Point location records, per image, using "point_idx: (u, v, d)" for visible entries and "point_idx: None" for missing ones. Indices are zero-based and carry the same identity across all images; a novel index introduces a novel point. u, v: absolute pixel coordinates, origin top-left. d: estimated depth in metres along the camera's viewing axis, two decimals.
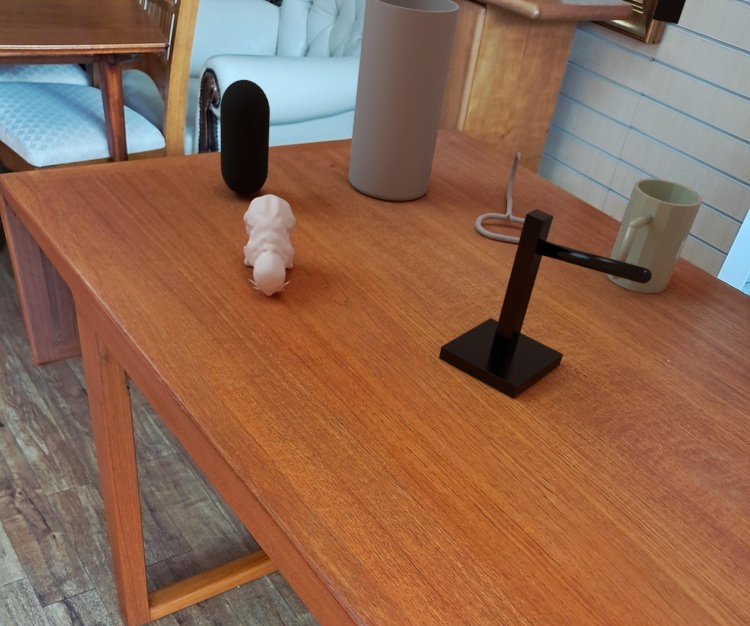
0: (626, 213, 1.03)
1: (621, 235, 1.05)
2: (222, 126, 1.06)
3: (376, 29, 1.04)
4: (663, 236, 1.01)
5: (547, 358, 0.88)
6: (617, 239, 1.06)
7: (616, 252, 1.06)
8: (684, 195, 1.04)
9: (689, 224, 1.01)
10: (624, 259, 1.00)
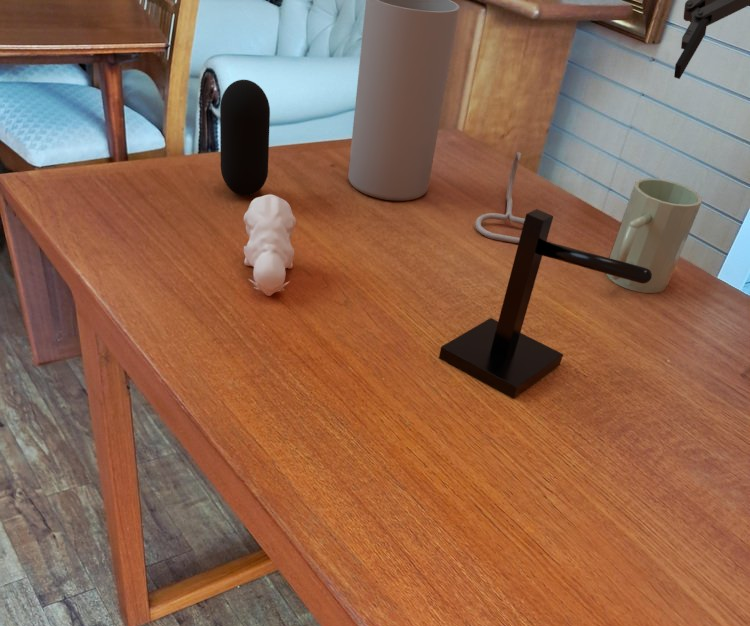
0: (626, 213, 1.03)
1: (621, 235, 1.05)
2: (222, 126, 1.06)
3: (376, 29, 1.04)
4: (663, 236, 1.01)
5: (547, 358, 0.88)
6: (617, 239, 1.06)
7: (616, 252, 1.06)
8: (684, 195, 1.04)
9: (689, 224, 1.01)
10: (624, 259, 1.00)
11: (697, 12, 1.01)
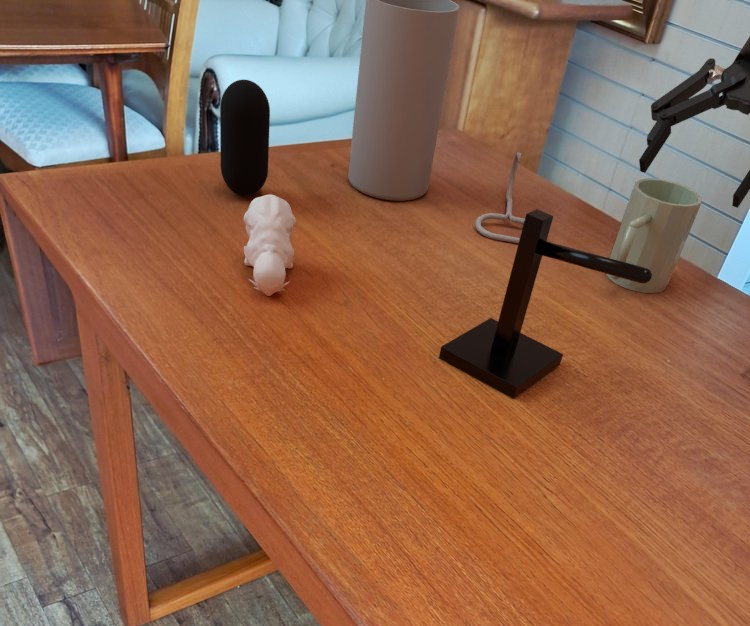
0: (626, 213, 1.03)
1: (621, 235, 1.05)
2: (222, 126, 1.06)
3: (376, 29, 1.04)
4: (663, 236, 1.01)
5: (547, 358, 0.88)
6: (617, 239, 1.06)
7: (616, 252, 1.06)
8: (684, 195, 1.04)
9: (689, 224, 1.01)
10: (624, 259, 1.00)
11: (662, 113, 1.08)
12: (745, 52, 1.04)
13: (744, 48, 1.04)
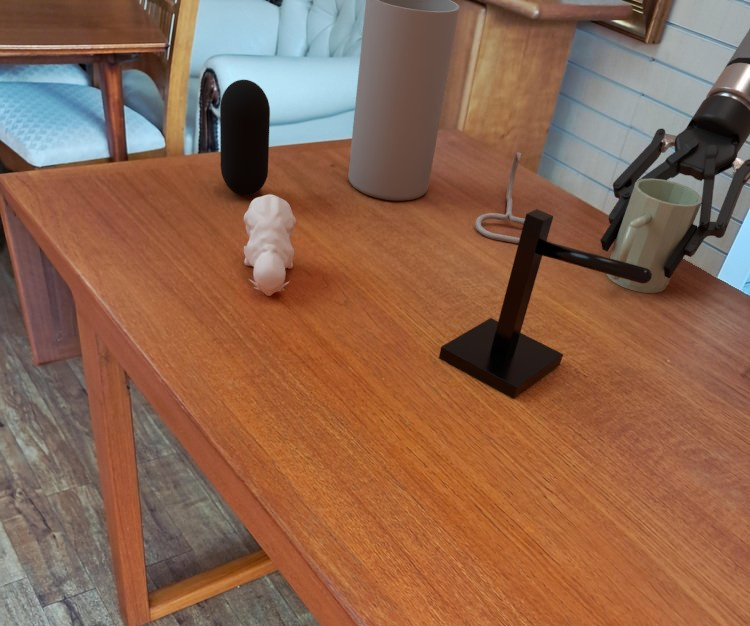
0: (626, 213, 1.03)
1: (621, 235, 1.05)
2: (222, 126, 1.06)
3: (376, 29, 1.04)
4: (663, 236, 1.01)
5: (547, 358, 0.88)
6: (617, 239, 1.06)
7: (616, 252, 1.06)
8: (684, 195, 1.04)
9: (689, 224, 1.01)
10: (624, 259, 1.00)
11: (623, 193, 1.06)
12: (698, 119, 1.03)
13: (696, 114, 1.03)
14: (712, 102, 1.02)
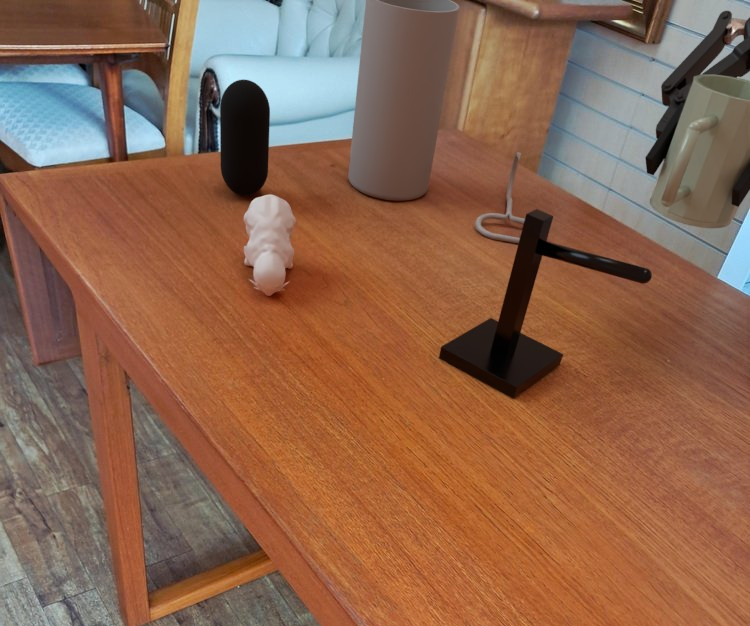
0: (681, 119, 0.77)
1: (673, 150, 0.79)
2: (222, 126, 1.06)
3: (376, 29, 1.04)
4: (732, 147, 0.75)
5: (547, 358, 0.88)
6: (668, 156, 0.80)
7: (666, 174, 0.80)
8: None
9: None
10: (680, 177, 0.74)
11: (676, 96, 0.80)
12: None
13: None
14: None
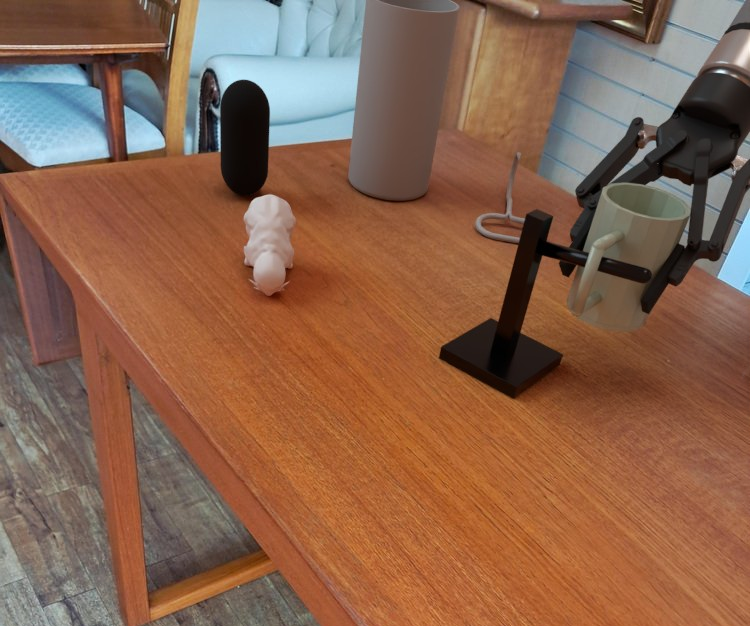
0: (591, 228, 0.78)
1: None
2: (222, 126, 1.06)
3: (376, 29, 1.04)
4: (639, 260, 0.76)
5: (547, 358, 0.88)
6: None
7: (579, 279, 0.81)
8: (668, 204, 0.79)
9: (674, 244, 0.76)
10: (587, 290, 0.75)
11: (589, 202, 0.81)
12: (686, 105, 0.78)
13: (684, 98, 0.78)
14: (705, 81, 0.77)
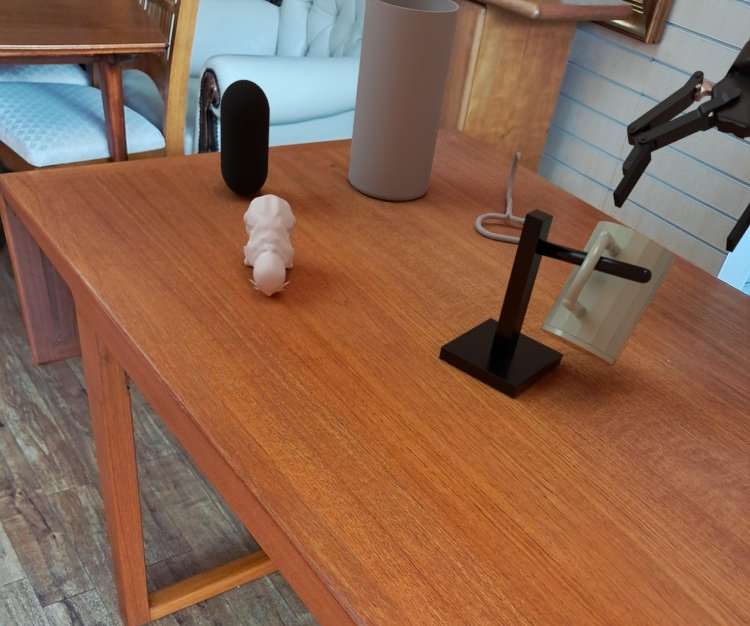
0: None
1: (573, 277, 0.81)
2: (222, 126, 1.06)
3: (376, 29, 1.04)
4: None
5: (547, 358, 0.88)
6: (566, 284, 0.82)
7: (563, 297, 0.81)
8: None
9: (659, 279, 0.79)
10: (585, 279, 0.75)
11: (640, 137, 0.89)
12: (740, 64, 0.85)
13: (738, 59, 0.85)
14: None
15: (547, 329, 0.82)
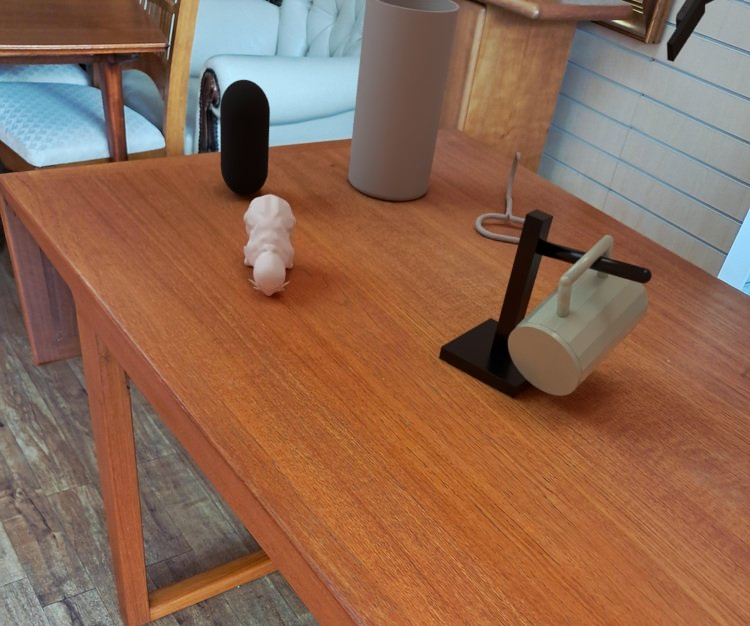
0: None
1: (556, 291, 0.80)
2: (222, 126, 1.06)
3: (376, 29, 1.04)
4: (613, 300, 0.78)
5: None
6: (546, 298, 0.80)
7: (544, 304, 0.79)
8: None
9: (633, 320, 0.80)
10: (585, 265, 0.74)
11: None
12: None
13: None
14: None
15: (524, 325, 0.77)
